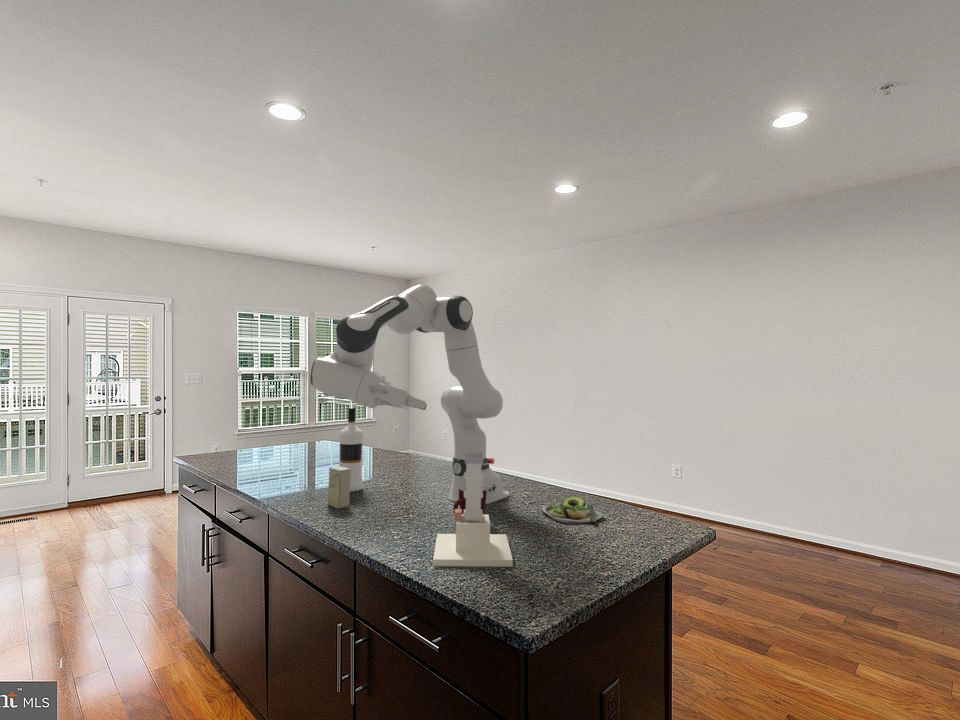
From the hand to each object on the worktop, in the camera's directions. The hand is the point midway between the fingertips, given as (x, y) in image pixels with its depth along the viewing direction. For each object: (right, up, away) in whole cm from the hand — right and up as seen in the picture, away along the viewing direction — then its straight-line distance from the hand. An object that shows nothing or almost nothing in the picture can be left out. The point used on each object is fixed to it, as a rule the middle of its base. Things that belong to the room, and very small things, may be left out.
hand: (425, 406), depth 128 cm
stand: (+12, -35, -5) cm, 37 cm away
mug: (+11, -36, +18) cm, 41 cm away
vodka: (-34, -36, +57) cm, 75 cm away
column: (+12, -35, -5) cm, 37 cm away
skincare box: (-32, -35, +35) cm, 59 cm away
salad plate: (+42, -37, +29) cm, 63 cm away
